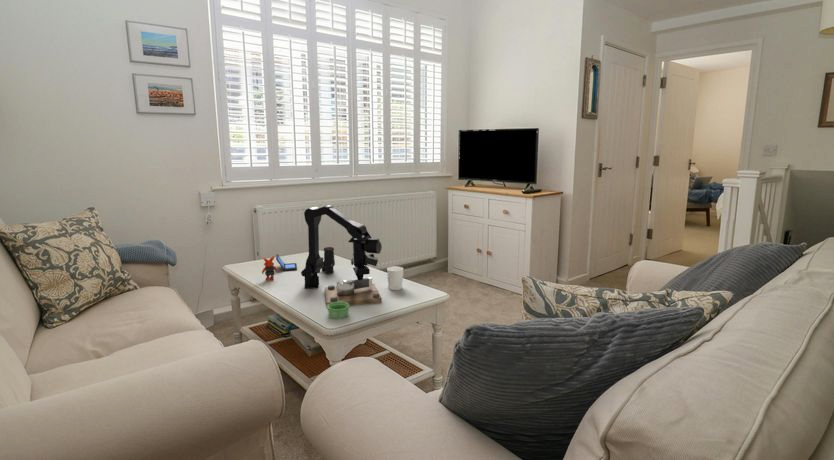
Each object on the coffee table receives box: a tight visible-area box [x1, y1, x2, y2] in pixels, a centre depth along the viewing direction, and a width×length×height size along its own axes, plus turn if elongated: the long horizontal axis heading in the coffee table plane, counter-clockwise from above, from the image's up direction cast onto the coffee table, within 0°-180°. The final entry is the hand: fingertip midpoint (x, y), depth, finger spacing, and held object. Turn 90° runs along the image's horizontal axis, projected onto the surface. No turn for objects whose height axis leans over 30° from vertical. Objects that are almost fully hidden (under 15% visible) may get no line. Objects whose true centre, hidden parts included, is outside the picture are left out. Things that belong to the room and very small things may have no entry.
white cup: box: [386, 265, 404, 291], centre depth 221 cm, size 8×8×10 cm
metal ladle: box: [336, 276, 373, 296], centre depth 210 cm, size 17×8×6 cm, turn 122°
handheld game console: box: [275, 254, 298, 272], centre depth 254 cm, size 12×11×7 cm
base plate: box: [324, 283, 383, 306], centre depth 209 cm, size 24×21×3 cm
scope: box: [321, 246, 336, 275], centre depth 246 cm, size 8×14×10 cm
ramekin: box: [326, 302, 350, 320], centre depth 188 cm, size 9×9×4 cm
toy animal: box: [261, 256, 278, 282], centre depth 234 cm, size 8×6×12 cm
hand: (360, 283), depth 214 cm, fingers closed
